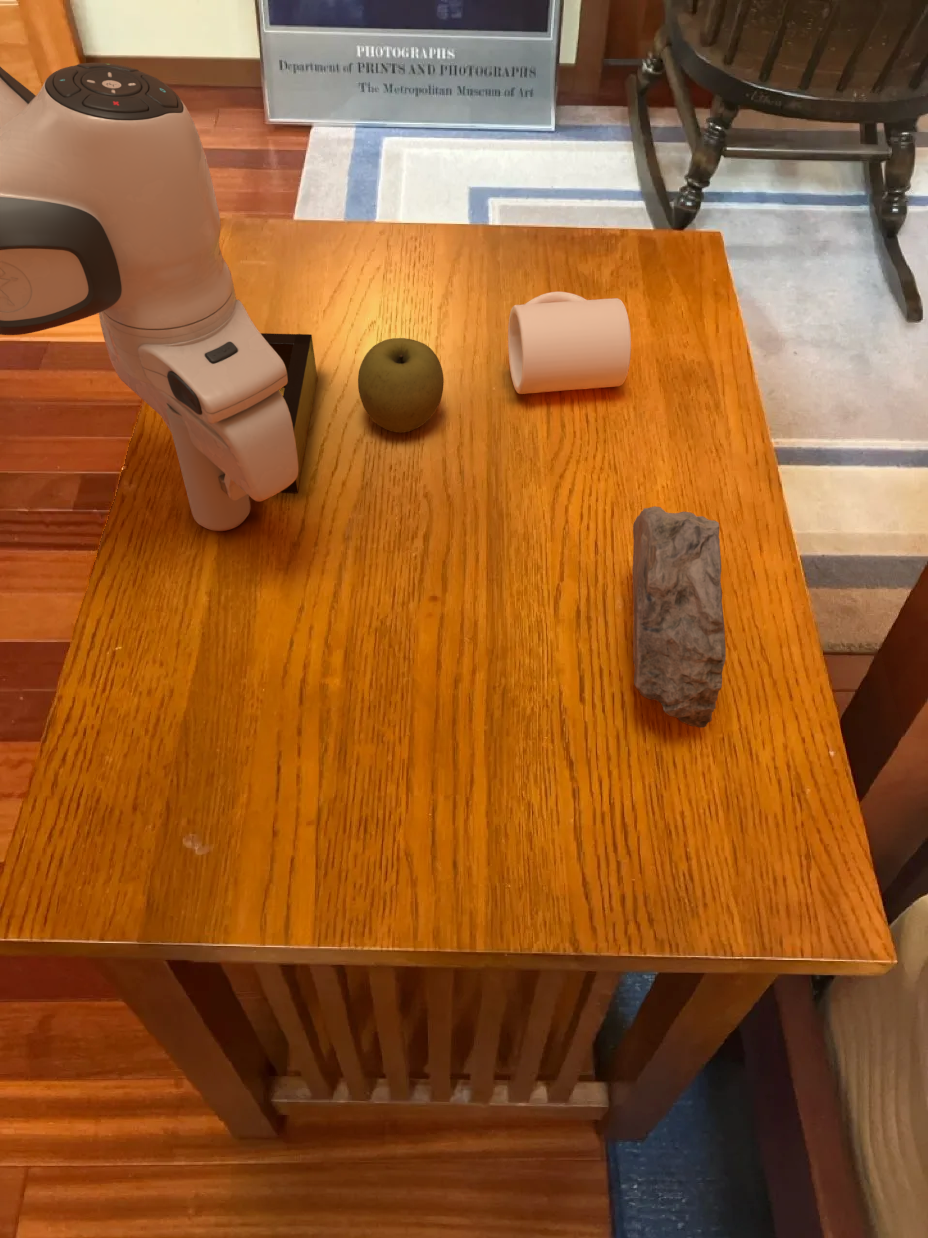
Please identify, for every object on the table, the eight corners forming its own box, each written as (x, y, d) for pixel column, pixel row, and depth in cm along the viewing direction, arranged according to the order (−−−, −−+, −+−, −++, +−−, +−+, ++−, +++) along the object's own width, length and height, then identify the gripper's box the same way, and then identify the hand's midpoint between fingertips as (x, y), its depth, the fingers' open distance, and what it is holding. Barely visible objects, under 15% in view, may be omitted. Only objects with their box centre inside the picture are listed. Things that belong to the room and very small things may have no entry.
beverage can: (189, 501, 80) (160, 384, 70) (245, 490, 81) (224, 374, 71) (198, 539, 77) (169, 423, 67) (256, 527, 78) (235, 412, 69)
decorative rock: (705, 750, 66) (763, 624, 54) (611, 739, 66) (648, 611, 54) (699, 575, 76) (747, 435, 64) (617, 566, 76) (649, 425, 64)
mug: (622, 403, 88) (637, 332, 82) (519, 411, 88) (526, 340, 81) (594, 326, 96) (605, 256, 89) (498, 333, 95) (503, 262, 88)
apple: (455, 402, 88) (456, 338, 82) (422, 456, 84) (421, 392, 78) (382, 382, 90) (378, 318, 84) (346, 434, 85) (339, 370, 79)
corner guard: (188, 490, 80) (174, 446, 76) (219, 375, 90) (208, 331, 86) (297, 492, 81) (290, 449, 77) (317, 377, 90) (311, 334, 86)
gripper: (59, 279, 67) (113, 426, 78) (221, 419, 59) (256, 562, 70) (135, 247, 70) (177, 393, 81) (302, 376, 61) (323, 520, 72)
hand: (215, 472), depth 75 cm, fingers closed on beverage can, 5 cm apart
